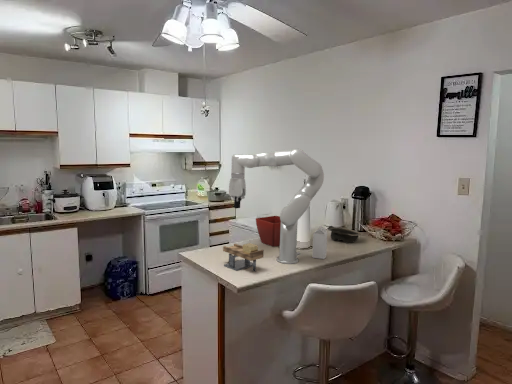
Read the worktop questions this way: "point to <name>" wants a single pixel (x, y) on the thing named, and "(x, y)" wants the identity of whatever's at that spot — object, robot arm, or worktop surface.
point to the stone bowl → (344, 234)
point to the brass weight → (249, 248)
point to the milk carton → (319, 243)
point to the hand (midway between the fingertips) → (237, 207)
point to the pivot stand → (239, 263)
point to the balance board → (239, 252)
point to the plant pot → (269, 230)
